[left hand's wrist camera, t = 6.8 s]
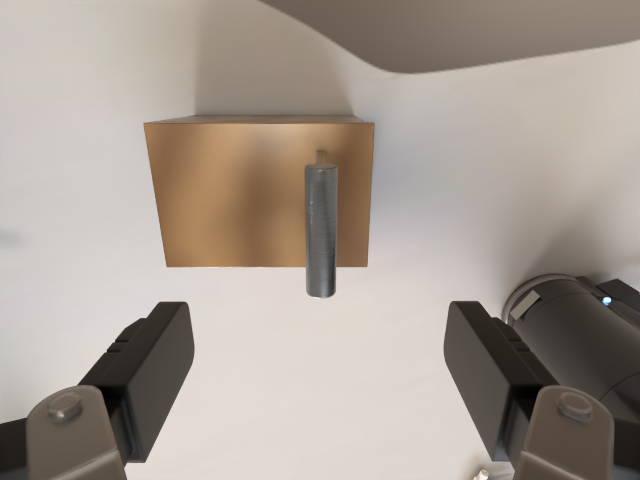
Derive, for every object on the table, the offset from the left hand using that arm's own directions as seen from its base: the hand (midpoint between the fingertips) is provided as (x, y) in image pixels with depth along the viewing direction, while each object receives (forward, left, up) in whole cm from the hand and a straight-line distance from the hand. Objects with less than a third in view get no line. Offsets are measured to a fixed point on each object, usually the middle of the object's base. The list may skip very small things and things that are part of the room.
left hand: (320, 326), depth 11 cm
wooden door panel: (+4, -1, -16) cm, 17 cm away
